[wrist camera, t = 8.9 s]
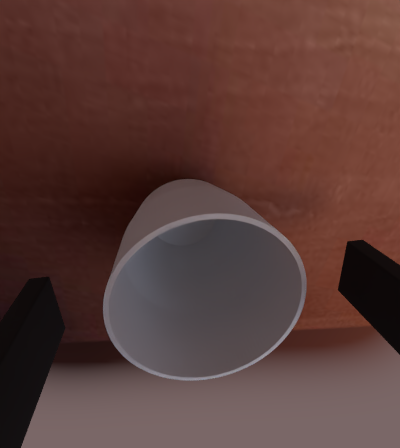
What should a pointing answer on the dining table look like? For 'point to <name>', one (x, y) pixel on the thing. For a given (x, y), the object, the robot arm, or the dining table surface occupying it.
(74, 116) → the dining table surface
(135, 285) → the cup
